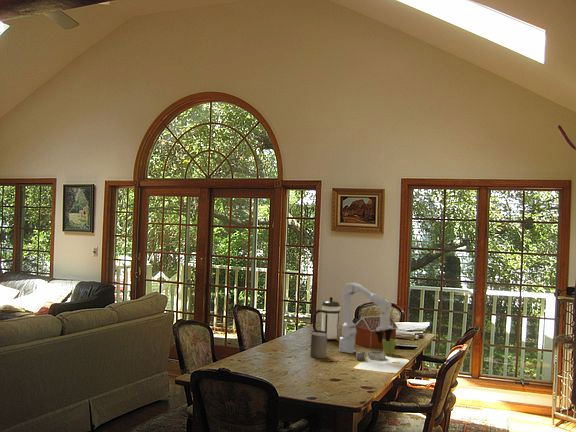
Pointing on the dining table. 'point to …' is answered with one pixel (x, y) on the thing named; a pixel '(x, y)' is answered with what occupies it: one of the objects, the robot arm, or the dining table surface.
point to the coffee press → (329, 319)
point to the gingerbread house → (371, 331)
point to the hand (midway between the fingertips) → (383, 341)
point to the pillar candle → (318, 345)
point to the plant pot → (389, 346)
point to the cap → (361, 356)
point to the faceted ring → (376, 355)
